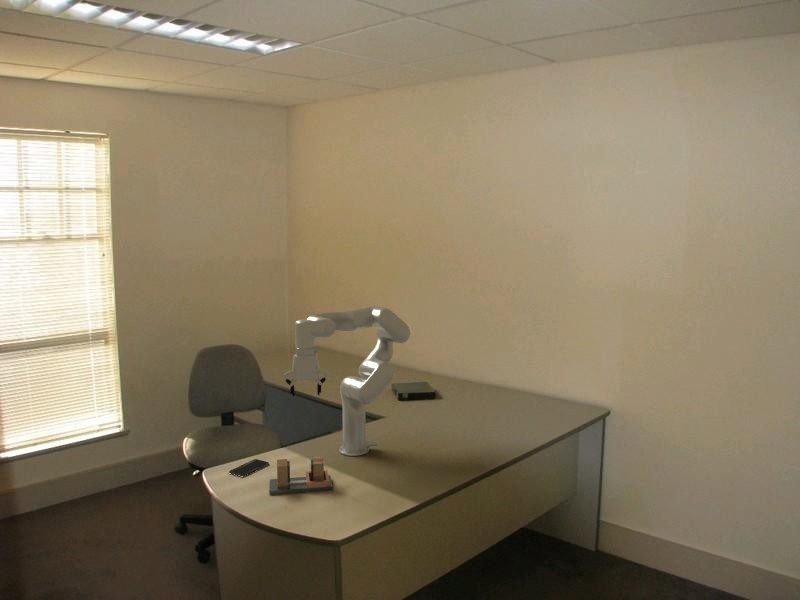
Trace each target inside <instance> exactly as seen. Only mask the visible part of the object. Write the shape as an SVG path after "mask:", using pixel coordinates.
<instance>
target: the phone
mask: <svg viewBox="0 0 800 600" xmlns="http://www.w3.org/2000/svg"><path fill="white" fill-rule="evenodd" d="M269 465H270V462H269V461H266V460H262V459H258V458H256V459H255V458H254V459H252V460H250V461H248V462H245V463H244V464H241V465H239V466H237V467H235V468H232V469H231V470H229V471H228V474H229V473H231V474H235V475H240V476H245V475H247V474H250V473H252V472H254V473H255V471H256V470H258V471H260V470H262V469H264V468H266V467H268V466H269ZM261 468H262V469H261ZM259 469H260V470H259ZM256 472H257V471H256ZM231 474H230V475H231ZM252 474H253V473H252ZM235 475H234V476H235ZM250 475H251V474H250Z"/></svg>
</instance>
